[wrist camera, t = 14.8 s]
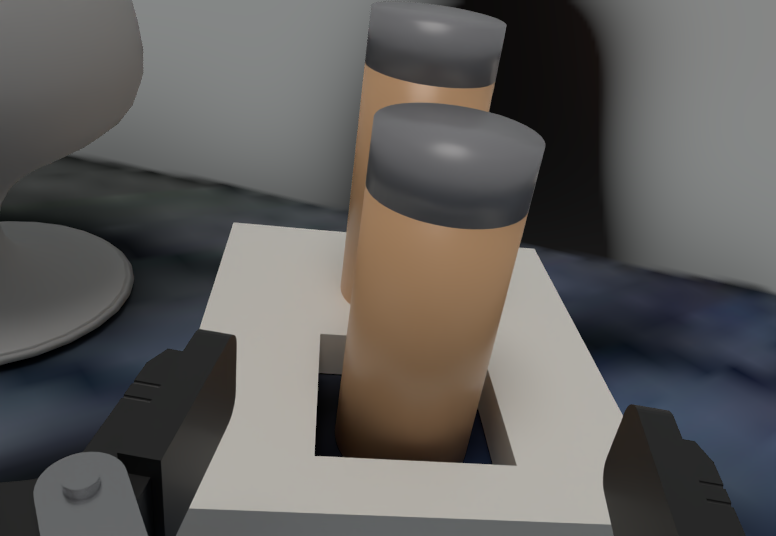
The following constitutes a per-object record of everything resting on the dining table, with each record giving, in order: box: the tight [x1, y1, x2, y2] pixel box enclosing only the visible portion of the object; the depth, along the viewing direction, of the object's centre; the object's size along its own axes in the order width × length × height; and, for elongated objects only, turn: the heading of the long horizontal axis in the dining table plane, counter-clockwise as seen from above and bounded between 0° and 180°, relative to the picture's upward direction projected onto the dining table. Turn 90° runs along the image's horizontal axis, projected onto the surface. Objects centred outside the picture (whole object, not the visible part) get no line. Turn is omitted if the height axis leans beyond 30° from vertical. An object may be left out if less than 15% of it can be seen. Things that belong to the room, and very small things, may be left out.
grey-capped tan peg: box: [335, 103, 545, 463], centre depth 22 cm, size 5×5×12 cm
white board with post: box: [176, 1, 623, 536], centre depth 25 cm, size 16×18×14 cm
